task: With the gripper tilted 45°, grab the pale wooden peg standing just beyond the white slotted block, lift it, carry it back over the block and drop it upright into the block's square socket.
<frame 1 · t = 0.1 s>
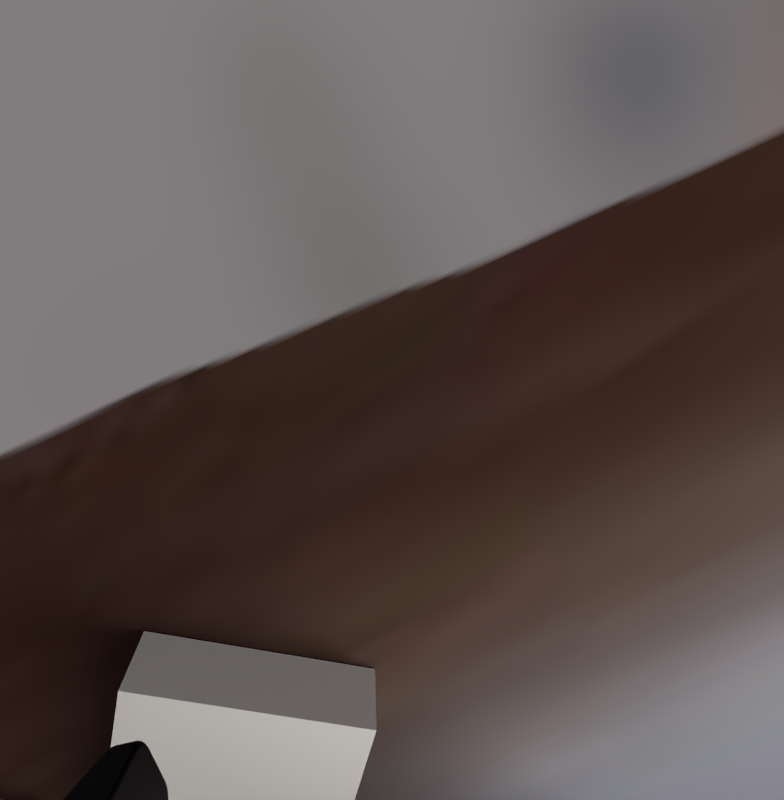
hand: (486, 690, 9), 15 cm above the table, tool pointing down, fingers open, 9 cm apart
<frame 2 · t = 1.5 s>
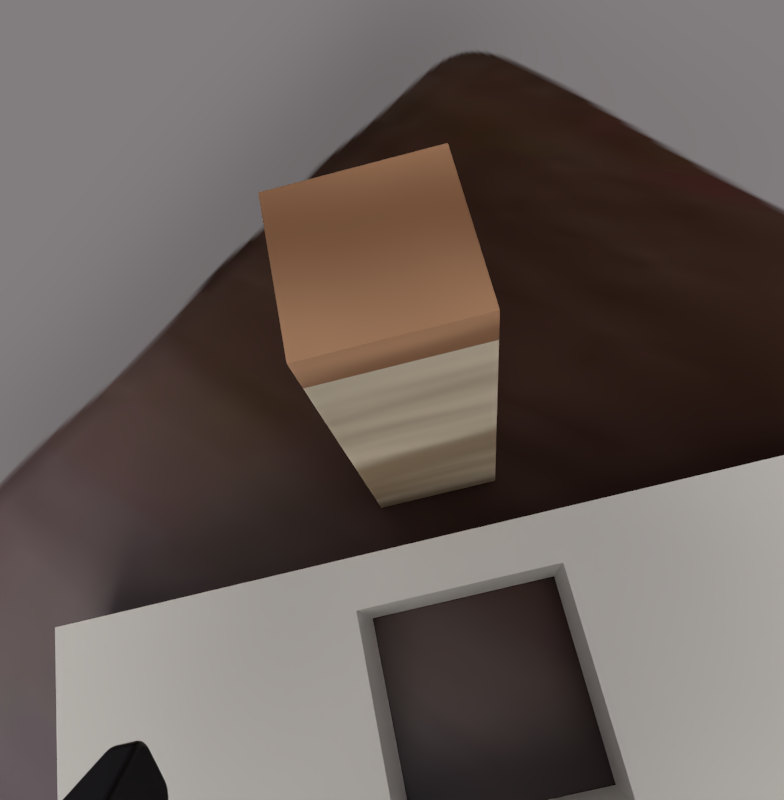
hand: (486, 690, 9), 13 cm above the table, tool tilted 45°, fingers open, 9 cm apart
wooden peg: (425, 440, 24), on the table
white slotted block: (486, 696, 21), on the table
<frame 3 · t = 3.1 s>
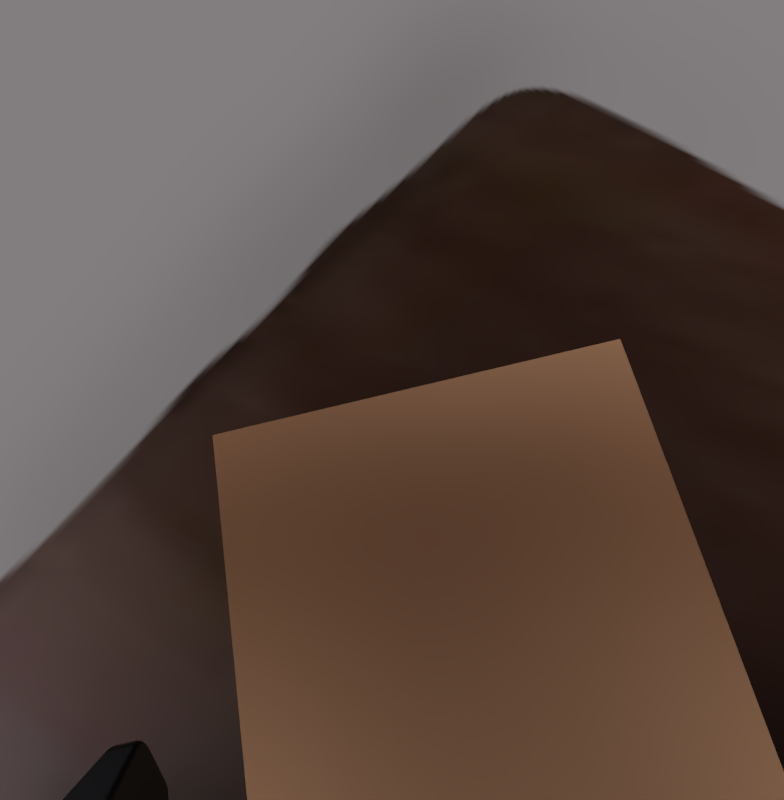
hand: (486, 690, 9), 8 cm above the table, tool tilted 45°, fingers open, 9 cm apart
wooden peg: (482, 657, 17), on the table
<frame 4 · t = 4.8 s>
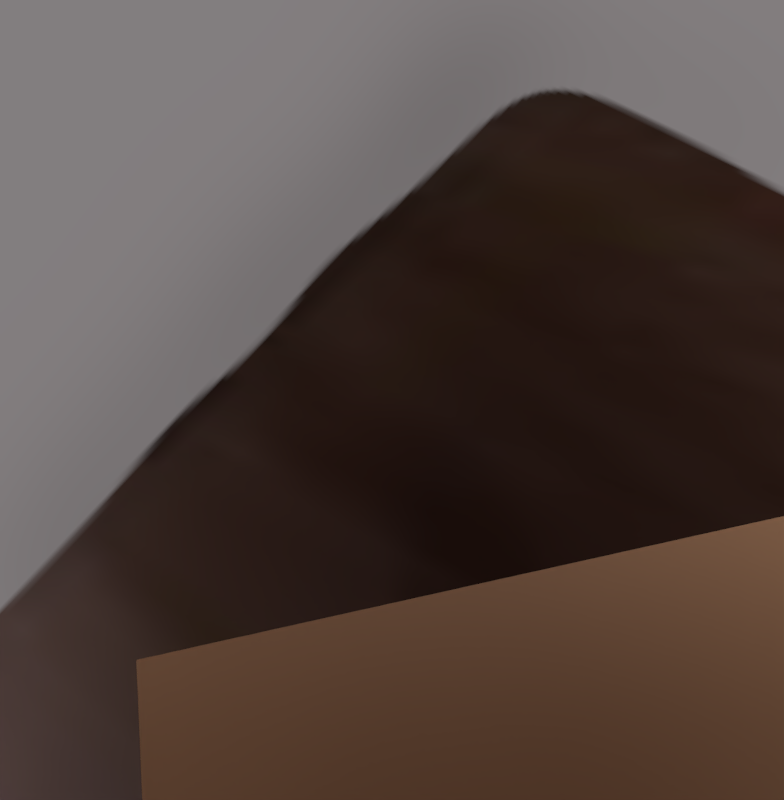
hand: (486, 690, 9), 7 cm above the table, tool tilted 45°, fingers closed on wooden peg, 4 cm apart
wooden peg: (505, 758, 14), on the table, touching gripper
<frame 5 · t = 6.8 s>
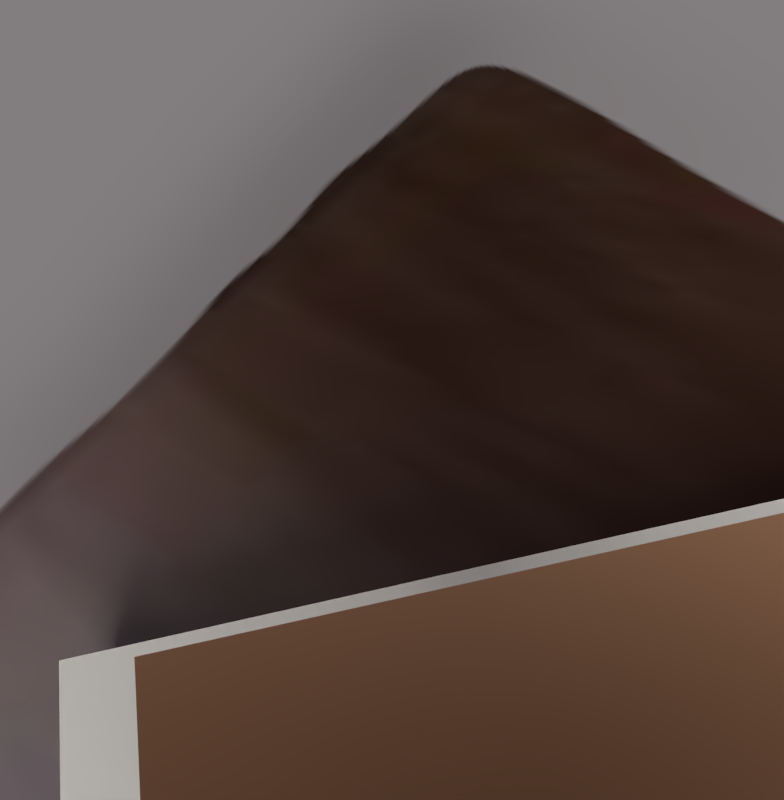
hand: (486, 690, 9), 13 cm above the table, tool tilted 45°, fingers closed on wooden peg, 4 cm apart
wooden peg: (504, 758, 14), point 7 cm above the table, touching gripper
white slotted block: (500, 734, 21), on the table
when the fingers open (8 cm above the table, at t = 8.8 s): wooden peg drops 1 cm, resting in white slotted block.
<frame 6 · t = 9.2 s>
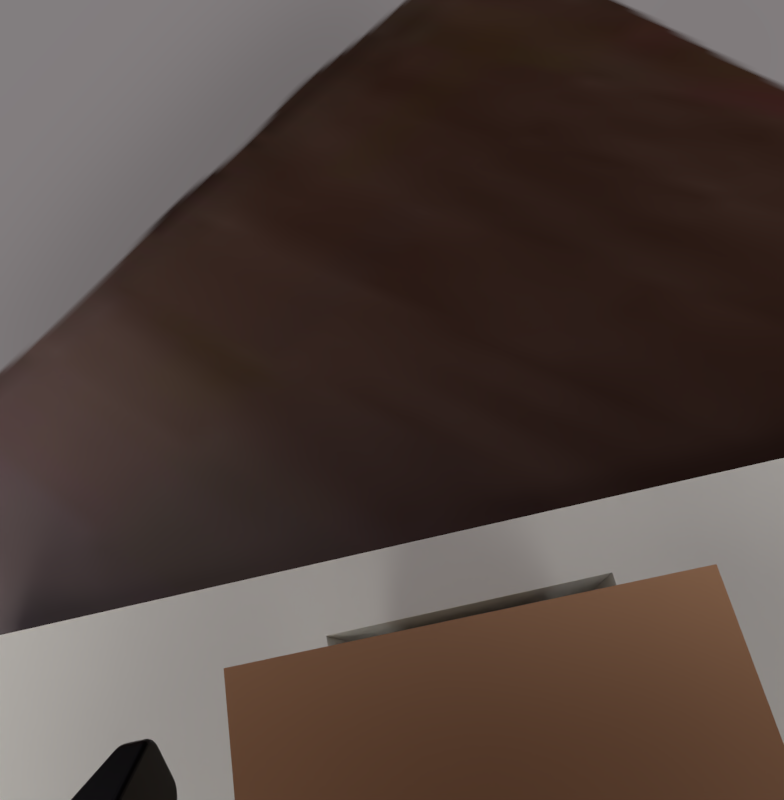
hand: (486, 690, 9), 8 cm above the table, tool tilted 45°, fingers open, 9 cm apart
wooden peg: (503, 751, 16), resting in white slotted block
white slotted block: (503, 751, 16), on the table
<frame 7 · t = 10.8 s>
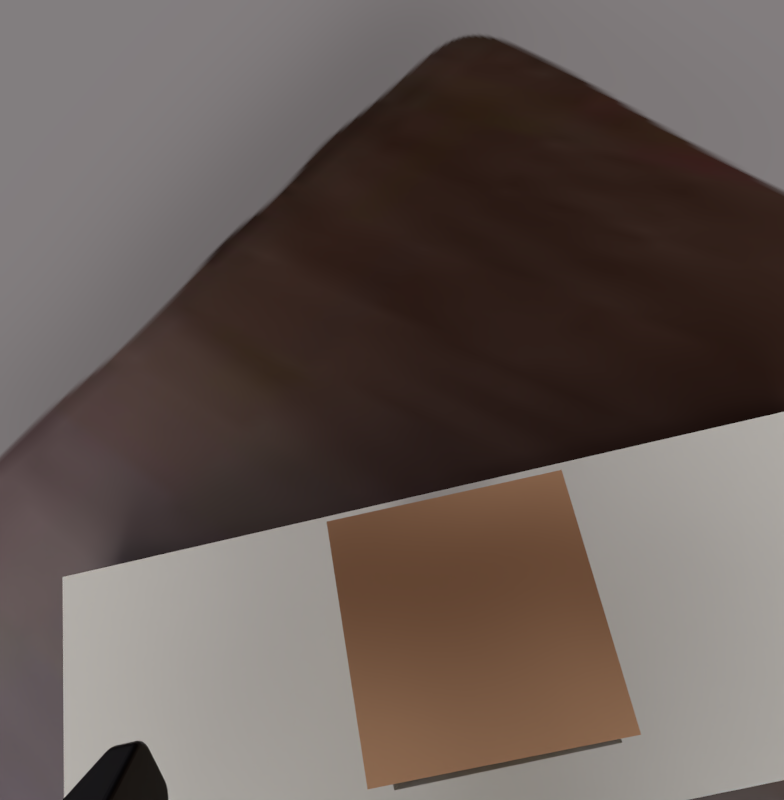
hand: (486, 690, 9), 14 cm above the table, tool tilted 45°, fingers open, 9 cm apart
wooden peg: (480, 649, 22), resting in white slotted block
white slotted block: (480, 650, 22), on the table
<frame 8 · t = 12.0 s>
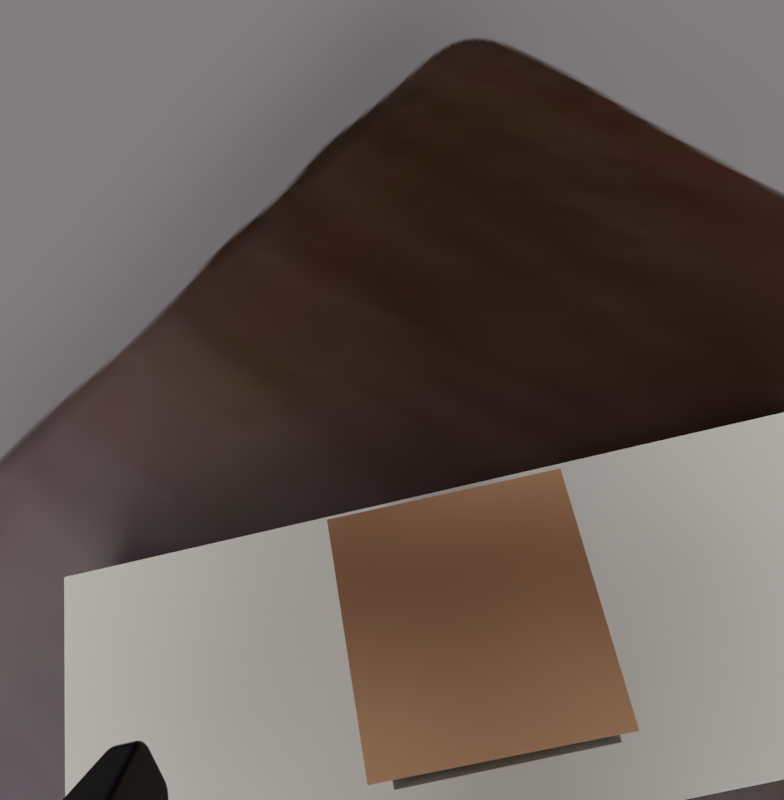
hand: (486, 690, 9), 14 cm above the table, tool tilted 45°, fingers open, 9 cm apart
wooden peg: (480, 650, 22), resting in white slotted block
white slotted block: (480, 650, 22), on the table
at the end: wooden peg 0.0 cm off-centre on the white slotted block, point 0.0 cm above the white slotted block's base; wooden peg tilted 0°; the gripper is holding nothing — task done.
